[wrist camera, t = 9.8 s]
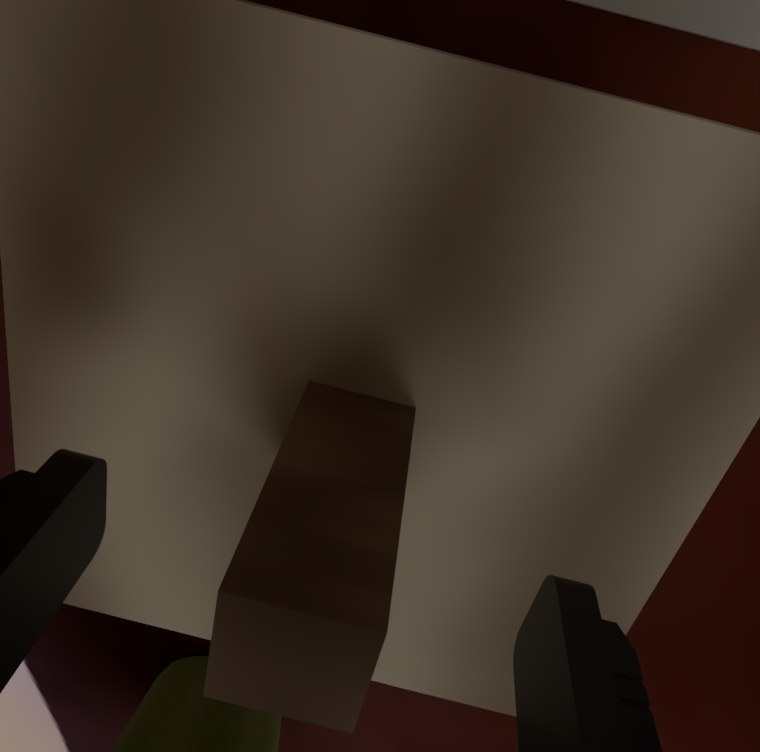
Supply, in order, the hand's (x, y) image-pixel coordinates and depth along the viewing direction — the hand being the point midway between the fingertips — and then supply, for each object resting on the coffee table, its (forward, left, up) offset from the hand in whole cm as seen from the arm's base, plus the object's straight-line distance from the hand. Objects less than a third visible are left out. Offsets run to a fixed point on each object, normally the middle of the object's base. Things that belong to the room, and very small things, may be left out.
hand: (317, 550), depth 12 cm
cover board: (0, 0, -4) cm, 4 cm away
